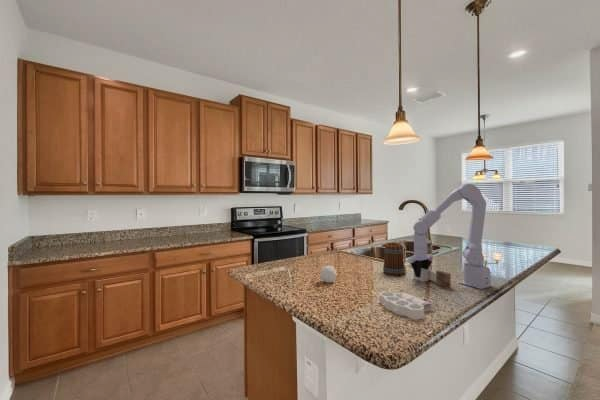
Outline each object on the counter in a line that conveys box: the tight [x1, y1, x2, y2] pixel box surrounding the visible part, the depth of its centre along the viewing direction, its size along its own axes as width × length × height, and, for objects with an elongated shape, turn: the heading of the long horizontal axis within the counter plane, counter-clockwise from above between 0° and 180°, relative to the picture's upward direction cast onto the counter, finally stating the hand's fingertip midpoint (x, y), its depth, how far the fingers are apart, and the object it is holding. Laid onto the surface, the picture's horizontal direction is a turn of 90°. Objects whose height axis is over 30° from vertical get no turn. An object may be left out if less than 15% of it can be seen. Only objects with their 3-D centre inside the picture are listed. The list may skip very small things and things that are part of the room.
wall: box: [435, 269, 452, 289], centre depth 116 cm, size 6×2×6 cm, turn 28°
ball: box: [319, 265, 338, 284], centre depth 126 cm, size 8×8×8 cm
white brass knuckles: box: [378, 291, 433, 320], centre depth 95 cm, size 3×18×15 cm
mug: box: [382, 241, 406, 277], centre depth 140 cm, size 16×11×15 cm
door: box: [428, 268, 436, 283], centre depth 125 cm, size 12×2×4 cm, turn 9°
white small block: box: [412, 268, 430, 283], centre depth 126 cm, size 5×4×5 cm
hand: (421, 276), depth 126 cm, fingers closed on white small block, 4 cm apart
